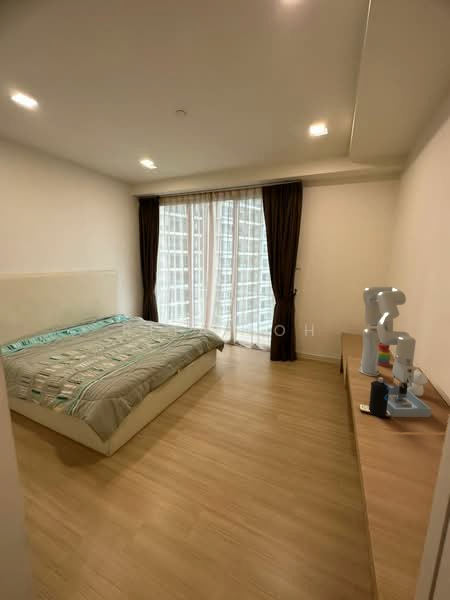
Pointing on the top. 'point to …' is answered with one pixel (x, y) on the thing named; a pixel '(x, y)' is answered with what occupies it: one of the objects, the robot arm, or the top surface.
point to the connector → (398, 389)
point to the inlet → (403, 404)
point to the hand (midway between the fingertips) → (400, 390)
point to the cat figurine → (418, 383)
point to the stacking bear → (383, 355)
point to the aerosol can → (379, 397)
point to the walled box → (416, 411)
